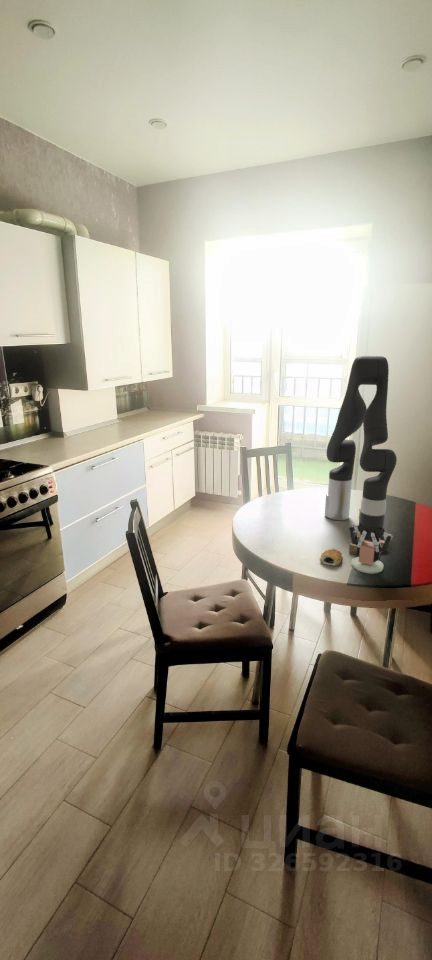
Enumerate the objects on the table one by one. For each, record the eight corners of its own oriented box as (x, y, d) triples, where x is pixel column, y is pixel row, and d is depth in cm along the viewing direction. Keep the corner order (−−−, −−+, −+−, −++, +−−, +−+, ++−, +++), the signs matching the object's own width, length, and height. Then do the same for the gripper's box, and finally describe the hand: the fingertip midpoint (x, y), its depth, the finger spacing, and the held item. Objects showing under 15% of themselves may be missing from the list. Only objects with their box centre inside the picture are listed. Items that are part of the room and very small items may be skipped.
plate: (347, 567, 145) (347, 565, 145) (357, 556, 153) (357, 553, 153) (377, 576, 140) (378, 574, 139) (387, 564, 147) (387, 561, 147)
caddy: (348, 552, 156) (349, 544, 155) (358, 542, 163) (359, 534, 162) (377, 560, 150) (378, 551, 149) (386, 549, 158) (387, 541, 157)
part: (358, 561, 145) (360, 545, 144) (363, 556, 149) (364, 540, 147) (372, 565, 143) (373, 548, 141) (376, 560, 146) (378, 543, 144)
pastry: (326, 552, 157) (327, 542, 155) (345, 556, 153) (346, 546, 152) (318, 563, 149) (319, 553, 148) (338, 568, 146) (339, 558, 144)
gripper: (346, 509, 142) (342, 557, 147) (392, 519, 134) (386, 569, 139) (354, 502, 147) (350, 549, 152) (399, 511, 139) (393, 560, 144)
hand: (367, 558), depth 146 cm, fingers closed on part, 4 cm apart
